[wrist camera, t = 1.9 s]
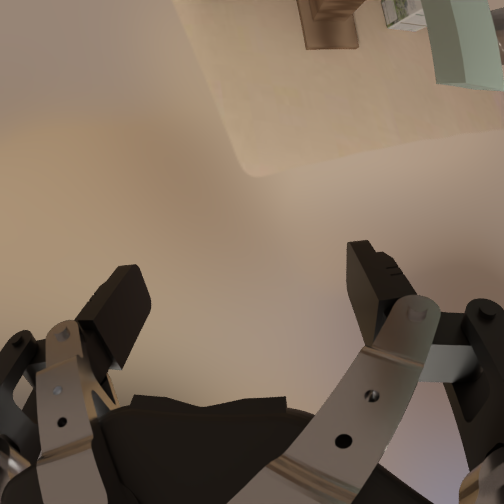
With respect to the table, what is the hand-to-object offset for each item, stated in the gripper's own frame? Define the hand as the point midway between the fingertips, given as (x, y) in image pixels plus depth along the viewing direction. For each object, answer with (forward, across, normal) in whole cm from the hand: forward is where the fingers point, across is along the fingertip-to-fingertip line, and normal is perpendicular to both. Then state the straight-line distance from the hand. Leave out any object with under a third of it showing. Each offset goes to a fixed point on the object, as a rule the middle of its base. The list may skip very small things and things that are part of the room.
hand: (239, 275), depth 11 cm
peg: (+6, -13, -18) cm, 23 cm away
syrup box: (+38, -26, -22) cm, 51 cm away
